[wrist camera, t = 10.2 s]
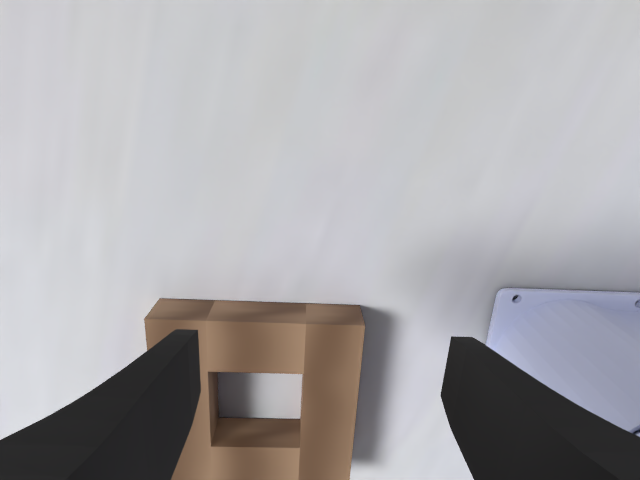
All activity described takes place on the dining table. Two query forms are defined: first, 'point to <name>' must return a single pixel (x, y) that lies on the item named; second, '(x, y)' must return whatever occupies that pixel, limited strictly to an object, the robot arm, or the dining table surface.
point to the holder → (270, 357)
